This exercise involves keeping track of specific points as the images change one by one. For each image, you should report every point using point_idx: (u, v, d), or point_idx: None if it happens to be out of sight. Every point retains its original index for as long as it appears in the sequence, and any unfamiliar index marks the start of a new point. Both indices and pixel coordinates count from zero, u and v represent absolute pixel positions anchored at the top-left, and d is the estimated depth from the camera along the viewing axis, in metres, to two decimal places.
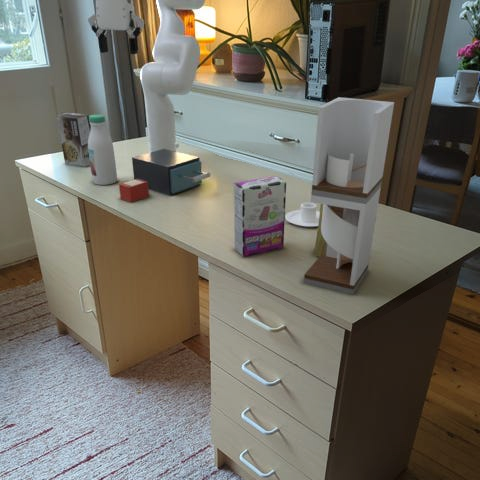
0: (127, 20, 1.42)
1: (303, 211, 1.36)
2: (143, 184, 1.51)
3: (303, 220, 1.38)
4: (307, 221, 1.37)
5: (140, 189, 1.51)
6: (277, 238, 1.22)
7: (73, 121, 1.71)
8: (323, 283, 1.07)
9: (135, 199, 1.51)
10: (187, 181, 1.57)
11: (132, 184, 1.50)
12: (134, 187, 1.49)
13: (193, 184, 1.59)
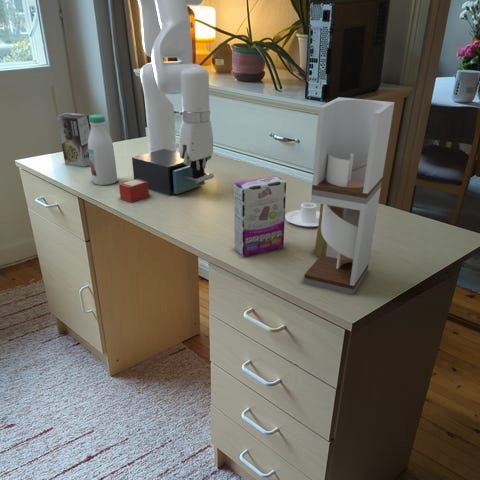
0: None
1: (303, 211, 1.36)
2: (143, 184, 1.51)
3: (303, 220, 1.38)
4: (307, 221, 1.37)
5: (140, 189, 1.51)
6: (277, 238, 1.22)
7: (73, 121, 1.71)
8: (323, 283, 1.07)
9: (135, 199, 1.51)
10: (190, 182, 1.56)
11: (132, 184, 1.50)
12: (134, 187, 1.49)
13: (196, 185, 1.59)
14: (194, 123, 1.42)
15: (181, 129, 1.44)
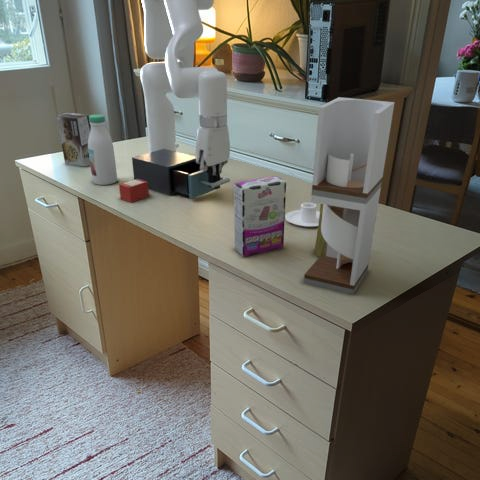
0: (229, 152, 1.48)
1: (303, 211, 1.36)
2: (143, 184, 1.51)
3: (303, 220, 1.38)
4: (307, 221, 1.37)
5: (140, 189, 1.51)
6: (277, 238, 1.22)
7: (73, 121, 1.71)
8: (323, 283, 1.07)
9: (135, 199, 1.51)
10: (205, 186, 1.53)
11: (132, 184, 1.50)
12: (134, 187, 1.49)
13: (211, 189, 1.55)
14: (211, 128, 1.39)
15: (198, 134, 1.41)
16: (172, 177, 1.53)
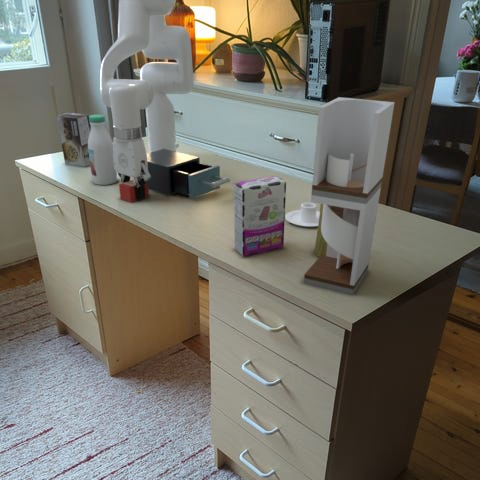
0: None
1: (303, 211, 1.36)
2: None
3: (303, 220, 1.38)
4: (307, 221, 1.37)
5: None
6: (277, 238, 1.22)
7: (73, 121, 1.71)
8: (323, 283, 1.07)
9: (135, 199, 1.51)
10: (205, 186, 1.53)
11: (132, 184, 1.50)
12: (134, 187, 1.49)
13: (211, 189, 1.55)
14: (141, 136, 1.44)
15: (136, 147, 1.41)
16: (172, 177, 1.53)
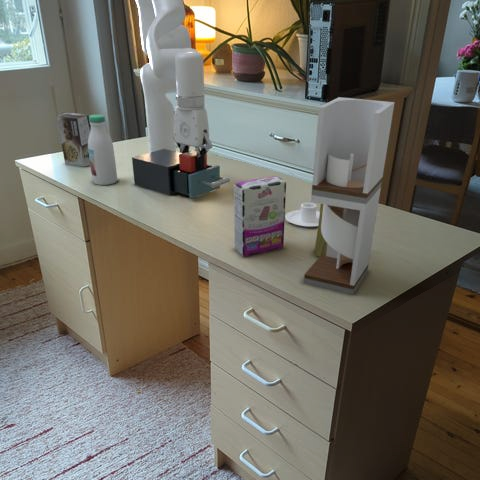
0: None
1: (303, 211, 1.36)
2: None
3: (303, 220, 1.38)
4: (307, 221, 1.37)
5: None
6: (277, 238, 1.22)
7: (73, 121, 1.71)
8: (323, 283, 1.07)
9: (195, 169, 1.51)
10: (205, 186, 1.53)
11: (192, 154, 1.50)
12: (194, 157, 1.49)
13: (211, 189, 1.55)
14: (204, 105, 1.44)
15: (199, 115, 1.42)
16: (172, 177, 1.53)
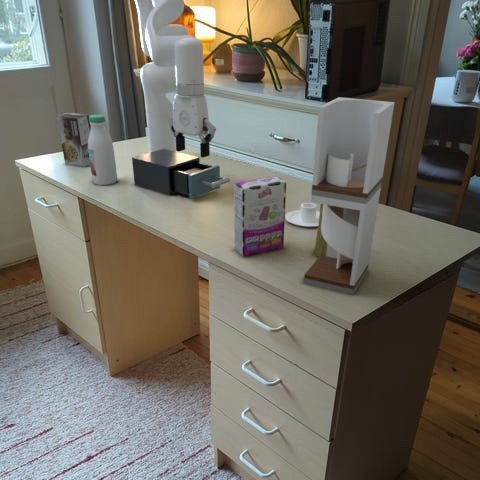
0: None
1: (303, 211, 1.36)
2: None
3: (303, 220, 1.38)
4: (307, 221, 1.37)
5: None
6: (277, 238, 1.22)
7: (73, 121, 1.71)
8: (323, 283, 1.07)
9: None
10: (205, 186, 1.53)
11: None
12: None
13: (211, 189, 1.55)
14: None
15: (199, 103, 1.40)
16: (172, 177, 1.53)
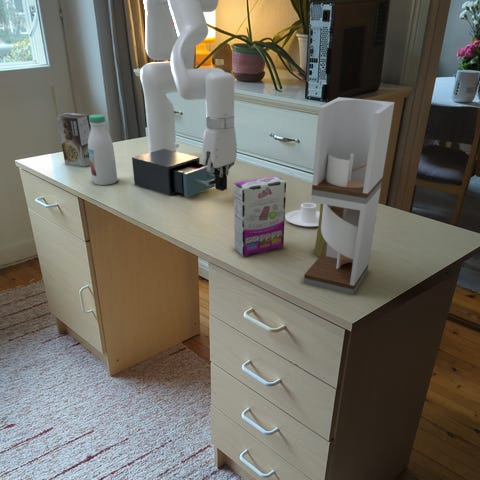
0: (236, 153, 1.47)
1: (303, 211, 1.36)
2: None
3: (303, 220, 1.38)
4: (307, 221, 1.37)
5: None
6: (277, 238, 1.22)
7: (73, 121, 1.71)
8: (323, 283, 1.07)
9: None
10: (200, 185, 1.54)
11: (188, 171, 1.54)
12: None
13: (206, 188, 1.57)
14: (219, 129, 1.37)
15: (205, 135, 1.39)
16: None
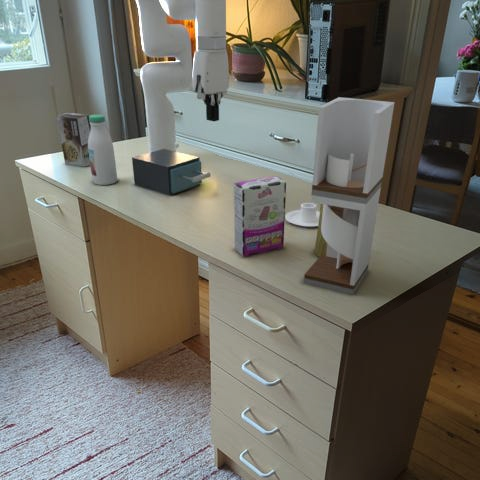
0: None
1: (303, 211, 1.36)
2: None
3: (303, 220, 1.38)
4: (307, 221, 1.37)
5: None
6: (277, 238, 1.22)
7: (73, 121, 1.71)
8: (323, 283, 1.07)
9: None
10: (187, 181, 1.57)
11: None
12: None
13: (193, 184, 1.59)
14: (209, 50, 1.29)
15: (195, 57, 1.31)
16: None
